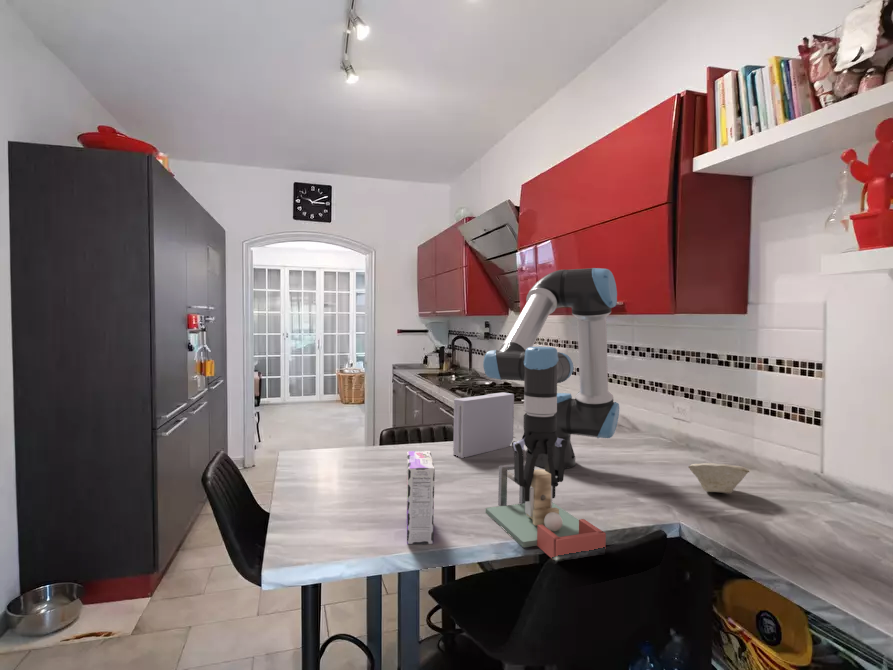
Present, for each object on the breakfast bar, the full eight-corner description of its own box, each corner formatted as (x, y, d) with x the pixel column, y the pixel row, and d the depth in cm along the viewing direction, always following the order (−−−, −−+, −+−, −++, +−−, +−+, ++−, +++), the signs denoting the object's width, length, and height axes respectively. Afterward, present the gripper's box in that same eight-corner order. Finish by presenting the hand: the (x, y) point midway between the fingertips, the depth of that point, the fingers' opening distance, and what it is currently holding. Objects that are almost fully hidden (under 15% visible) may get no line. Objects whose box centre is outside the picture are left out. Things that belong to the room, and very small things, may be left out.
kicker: (518, 493, 132) (519, 453, 132) (558, 522, 113) (559, 476, 113) (497, 495, 130) (498, 455, 130) (535, 525, 111) (536, 478, 111)
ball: (554, 516, 113) (561, 507, 111) (561, 533, 110) (568, 525, 108) (538, 518, 112) (545, 509, 109) (545, 535, 109) (552, 527, 107)
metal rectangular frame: (524, 502, 131) (525, 463, 130) (527, 504, 129) (528, 465, 129) (498, 505, 128) (499, 465, 128) (500, 507, 127) (501, 467, 126)
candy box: (406, 518, 118) (406, 450, 118) (430, 518, 119) (431, 450, 118) (406, 545, 105) (407, 467, 104) (434, 544, 105) (435, 467, 105)
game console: (450, 455, 175) (451, 398, 175) (501, 443, 194) (502, 392, 193) (462, 458, 171) (463, 400, 171) (513, 445, 190) (514, 393, 189)
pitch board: (549, 505, 129) (549, 500, 129) (596, 536, 110) (596, 531, 110) (485, 512, 123) (485, 507, 123) (523, 547, 104) (523, 542, 104)
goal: (583, 538, 109) (583, 518, 109) (605, 554, 102) (605, 533, 101) (537, 545, 105) (537, 525, 105) (556, 562, 98) (556, 540, 98)
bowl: (741, 488, 144) (742, 454, 144) (754, 505, 131) (755, 467, 131) (684, 482, 149) (685, 449, 149) (691, 497, 136) (692, 461, 135)
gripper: (564, 408, 121) (562, 503, 122) (499, 412, 116) (498, 511, 117) (581, 414, 114) (579, 515, 115) (513, 418, 109) (511, 523, 110)
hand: (538, 512), depth 116 cm, fingers closed on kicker, 4 cm apart
